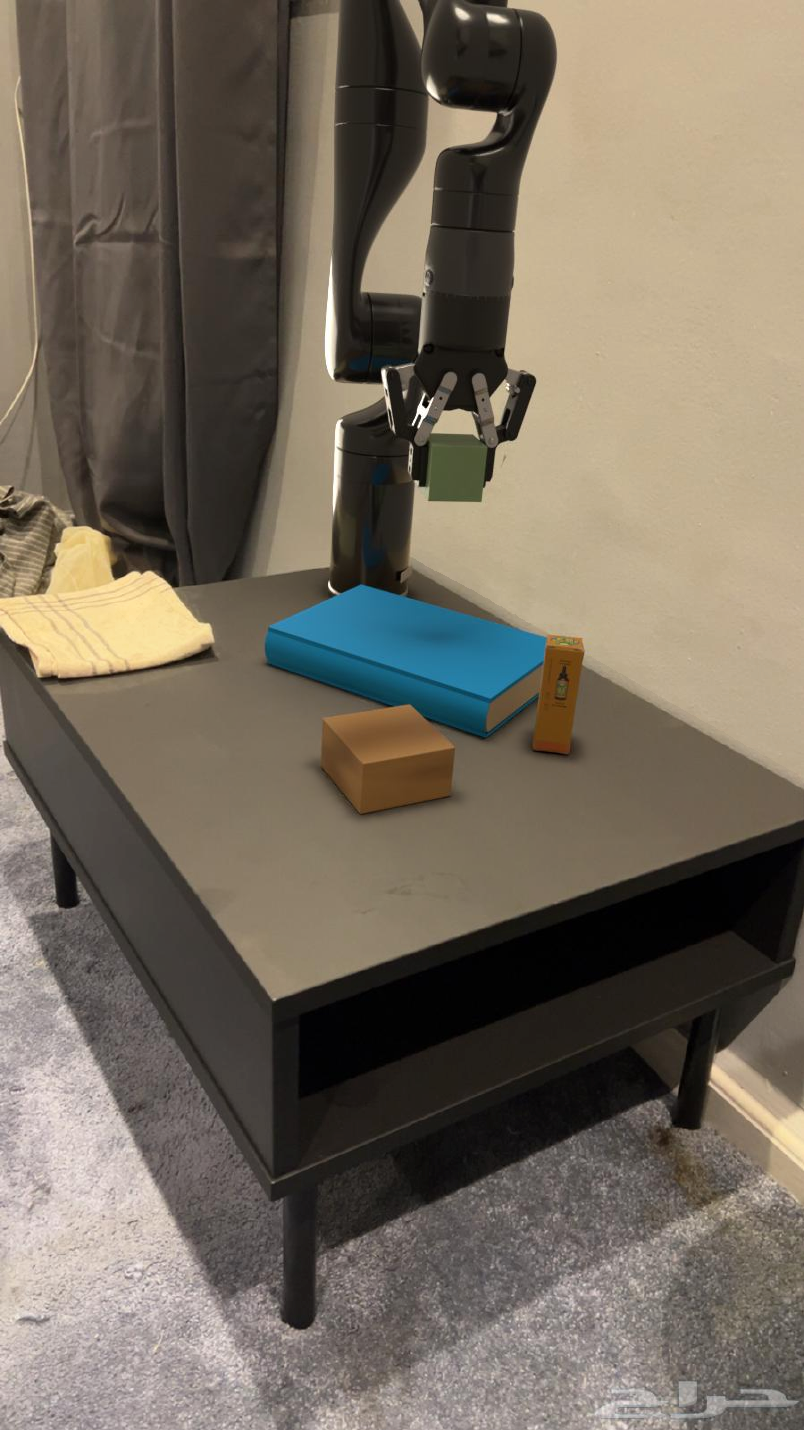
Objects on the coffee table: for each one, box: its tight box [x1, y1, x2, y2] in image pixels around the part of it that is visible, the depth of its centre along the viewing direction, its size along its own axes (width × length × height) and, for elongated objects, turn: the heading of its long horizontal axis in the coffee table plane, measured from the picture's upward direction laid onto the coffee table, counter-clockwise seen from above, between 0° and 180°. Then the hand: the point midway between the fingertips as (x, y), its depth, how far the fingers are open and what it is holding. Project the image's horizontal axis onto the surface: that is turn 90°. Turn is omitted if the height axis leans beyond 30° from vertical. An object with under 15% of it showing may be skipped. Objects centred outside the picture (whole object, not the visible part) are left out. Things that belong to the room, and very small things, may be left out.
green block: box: [417, 432, 487, 503], centre depth 96 cm, size 5×5×5 cm
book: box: [264, 585, 547, 739], centre depth 105 cm, size 17×4×25 cm
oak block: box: [320, 704, 456, 815], centre depth 85 cm, size 8×8×4 cm
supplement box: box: [532, 634, 586, 755], centre depth 91 cm, size 3×4×10 cm
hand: (449, 484), depth 97 cm, fingers closed on green block, 5 cm apart
